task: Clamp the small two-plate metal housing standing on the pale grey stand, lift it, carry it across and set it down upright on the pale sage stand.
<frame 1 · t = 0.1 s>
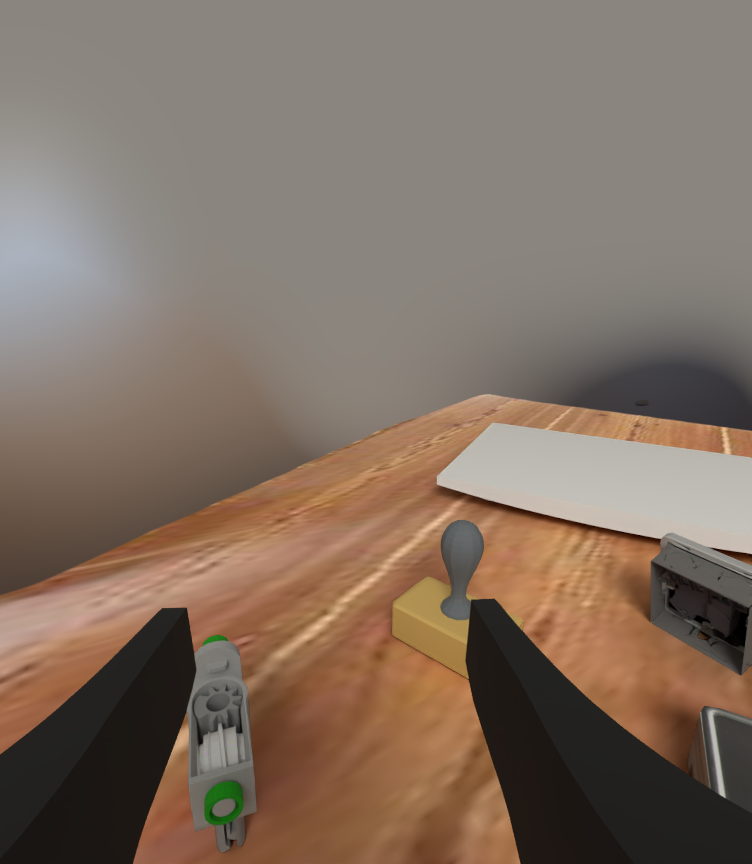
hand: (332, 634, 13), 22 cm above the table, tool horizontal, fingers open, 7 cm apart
mechanical component: (231, 841, 28), on the table
rubber stamp: (453, 647, 43), on the table
board: (611, 498, 75), on the table
electrical switch: (700, 646, 44), on the table
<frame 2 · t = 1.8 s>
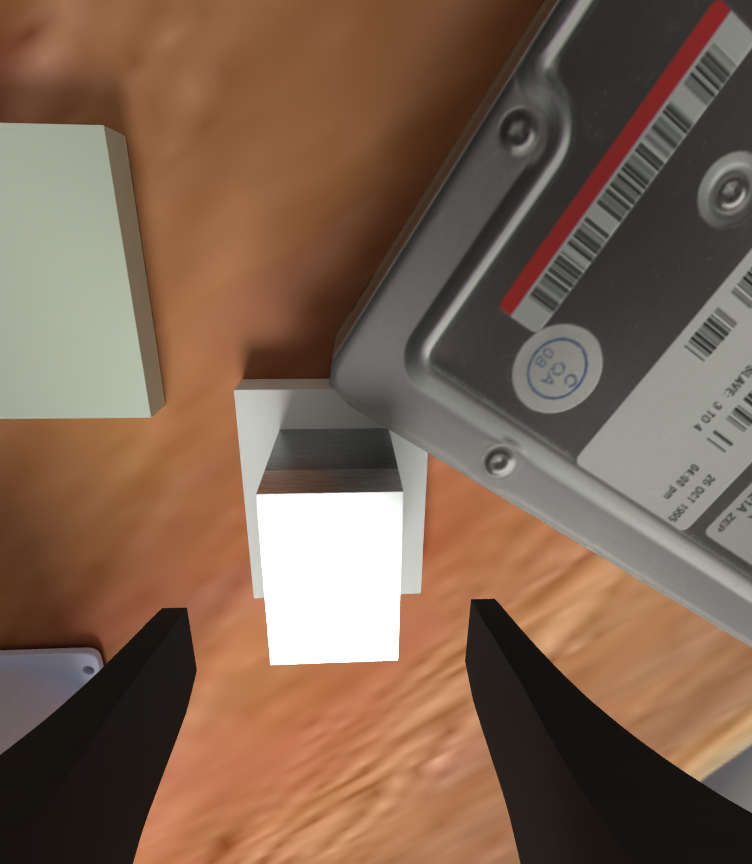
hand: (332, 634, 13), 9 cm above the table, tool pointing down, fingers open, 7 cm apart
housing: (336, 501, 19), point 1 cm above the table, touching stand a
stand a: (336, 483, 21), on the table
hard drive: (725, 342, 20), on the table, touching stand a
stand b: (44, 282, 17), on the table
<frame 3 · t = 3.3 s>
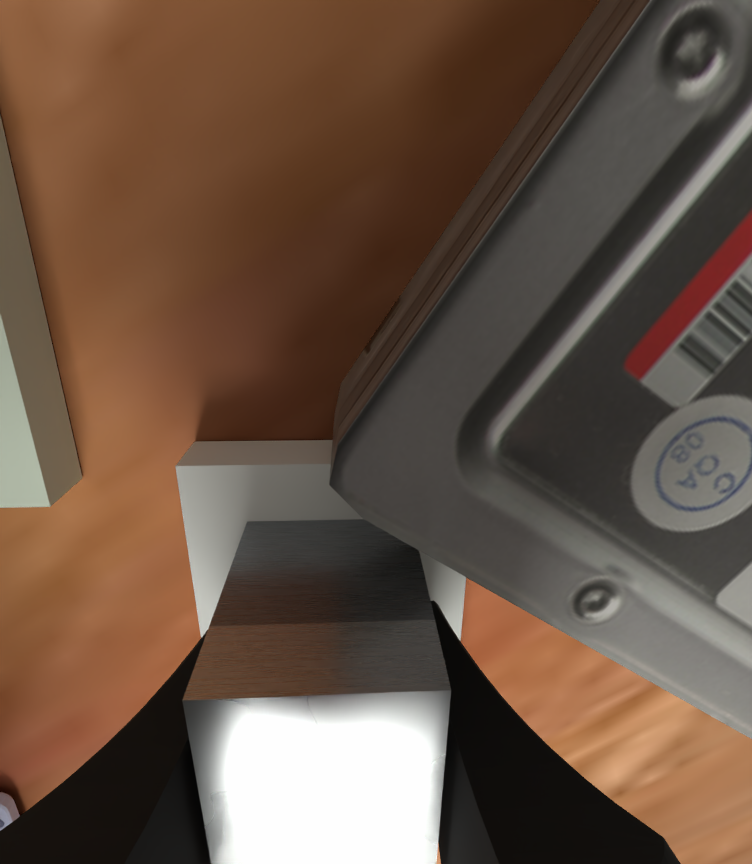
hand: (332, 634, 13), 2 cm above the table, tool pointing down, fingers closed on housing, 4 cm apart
housing: (332, 617, 13), point 1 cm above the table, touching gripper, stand a
stand a: (334, 581, 14), on the table
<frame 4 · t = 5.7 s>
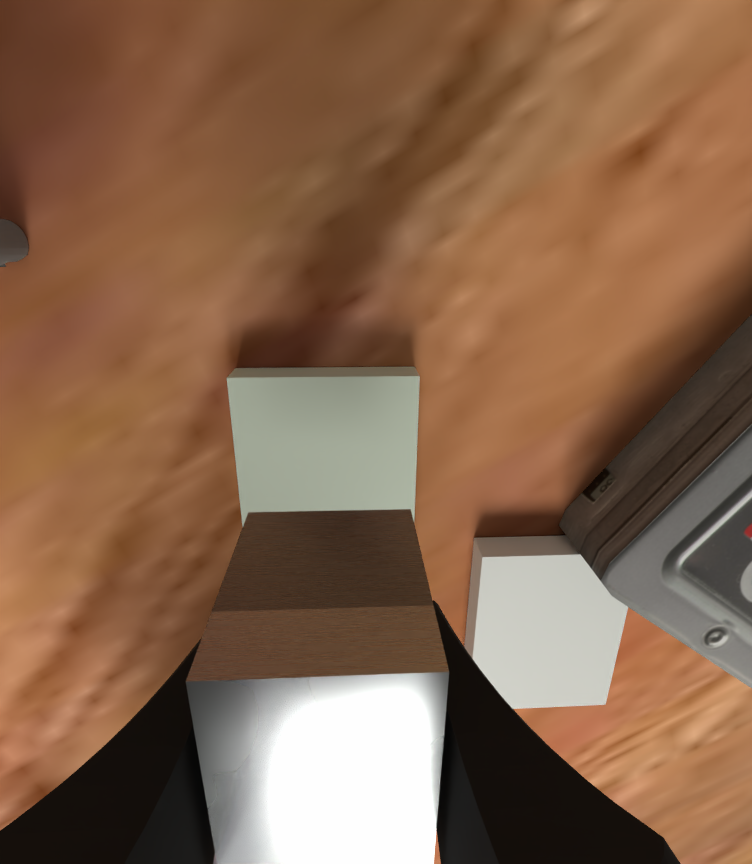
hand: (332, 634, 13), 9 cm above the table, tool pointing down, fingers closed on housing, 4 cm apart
mechanical component: (8, 243, 17), on the table
housing: (332, 608, 13), point 8 cm above the table, touching gripper
stand a: (537, 614, 24), on the table
stand b: (329, 471, 21), on the table
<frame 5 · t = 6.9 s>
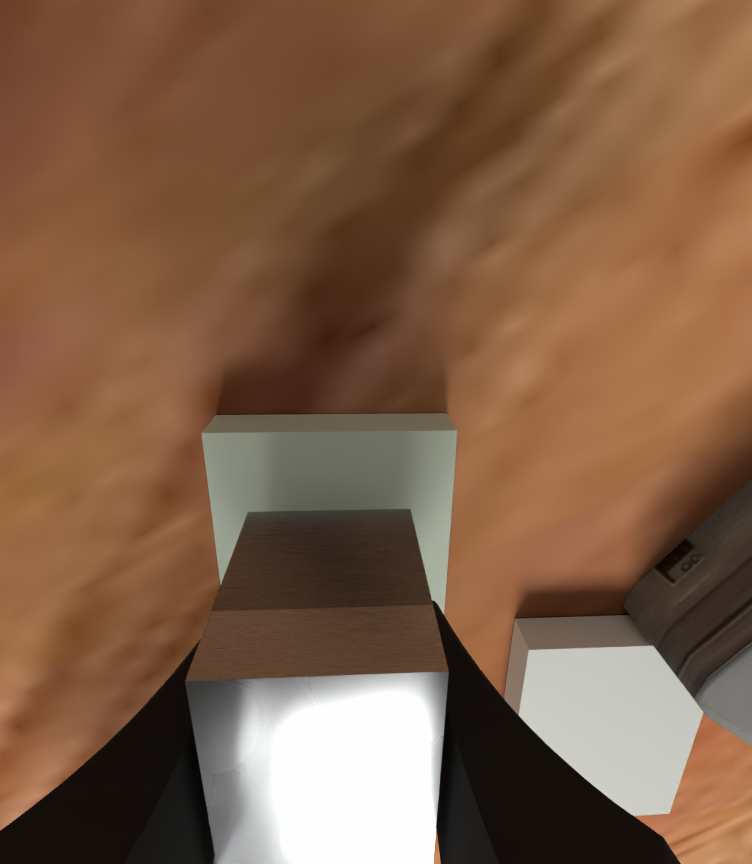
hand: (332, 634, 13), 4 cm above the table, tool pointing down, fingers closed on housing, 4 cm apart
housing: (332, 608, 13), point 3 cm above the table, touching gripper
stand a: (587, 704, 20), on the table
stand b: (335, 541, 16), on the table
when the fingers open (4 cm above the table, at t = 7.9 s): housing drops 1 cm, resting on stand b.
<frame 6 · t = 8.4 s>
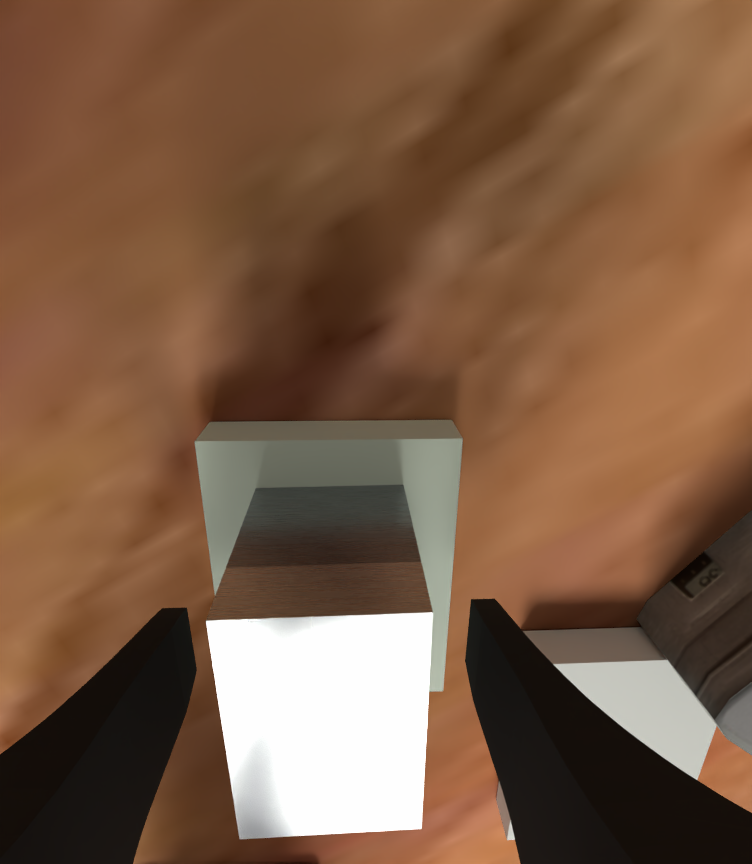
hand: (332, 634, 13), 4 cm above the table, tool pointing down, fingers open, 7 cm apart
housing: (333, 577, 14), point 1 cm above the table, touching stand b
stand a: (595, 718, 19), on the table
stand b: (335, 551, 16), on the table
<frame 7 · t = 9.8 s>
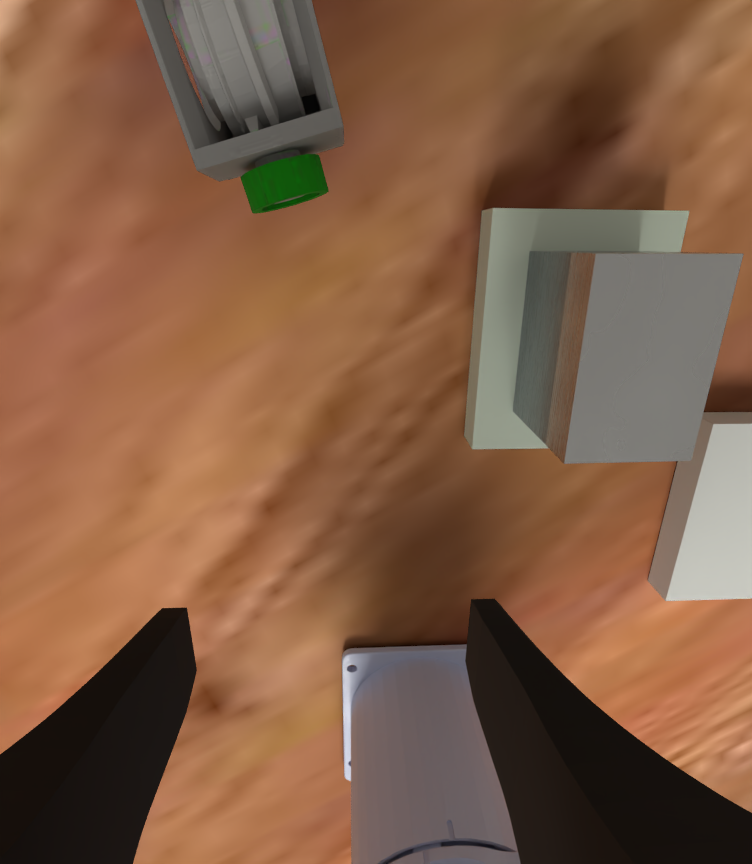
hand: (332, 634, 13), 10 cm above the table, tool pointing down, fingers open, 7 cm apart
mechanical component: (270, 60, 16), on the table
housing: (572, 335, 19), point 1 cm above the table, touching stand b
stand a: (738, 501, 23), on the table
stand b: (556, 332, 20), on the table
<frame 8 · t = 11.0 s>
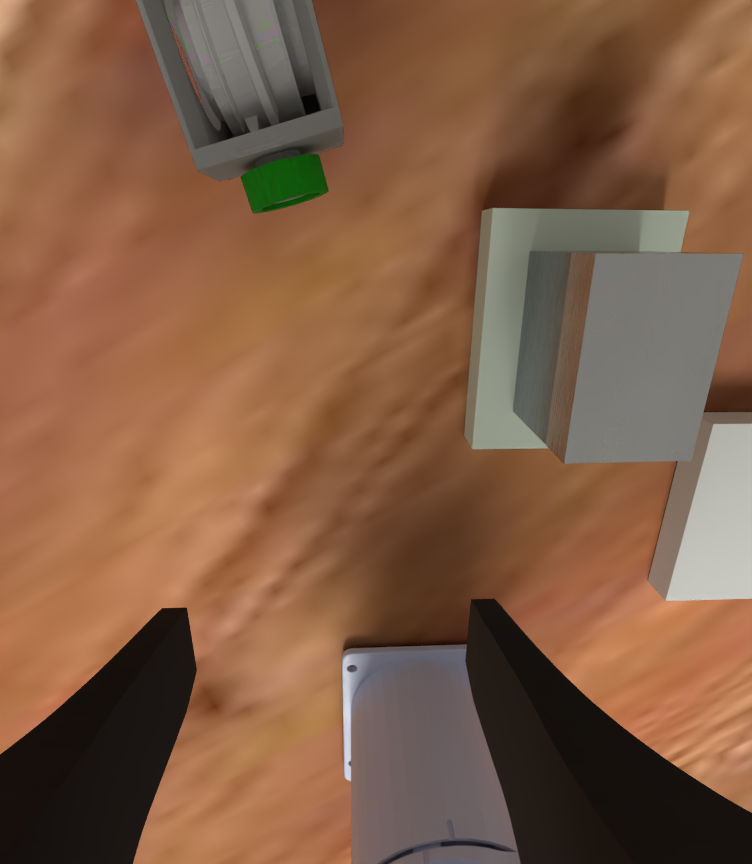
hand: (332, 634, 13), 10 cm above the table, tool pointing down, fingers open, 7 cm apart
mechanical component: (271, 60, 16), on the table
housing: (572, 335, 19), point 1 cm above the table, touching stand b
stand a: (738, 501, 23), on the table
stand b: (556, 332, 20), on the table
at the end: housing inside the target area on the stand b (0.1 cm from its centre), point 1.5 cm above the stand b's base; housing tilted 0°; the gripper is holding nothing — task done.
